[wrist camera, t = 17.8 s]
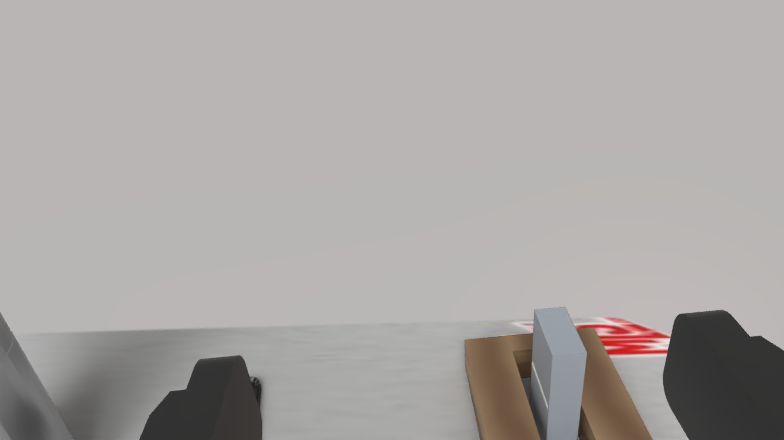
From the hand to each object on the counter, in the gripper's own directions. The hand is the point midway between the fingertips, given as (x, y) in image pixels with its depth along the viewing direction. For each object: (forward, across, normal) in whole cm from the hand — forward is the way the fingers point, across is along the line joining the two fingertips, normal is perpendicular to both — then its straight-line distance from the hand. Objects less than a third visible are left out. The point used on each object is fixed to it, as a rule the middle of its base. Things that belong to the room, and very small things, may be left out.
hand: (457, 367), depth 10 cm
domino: (+23, -10, +32) cm, 41 cm away
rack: (+23, -10, +32) cm, 41 cm away
